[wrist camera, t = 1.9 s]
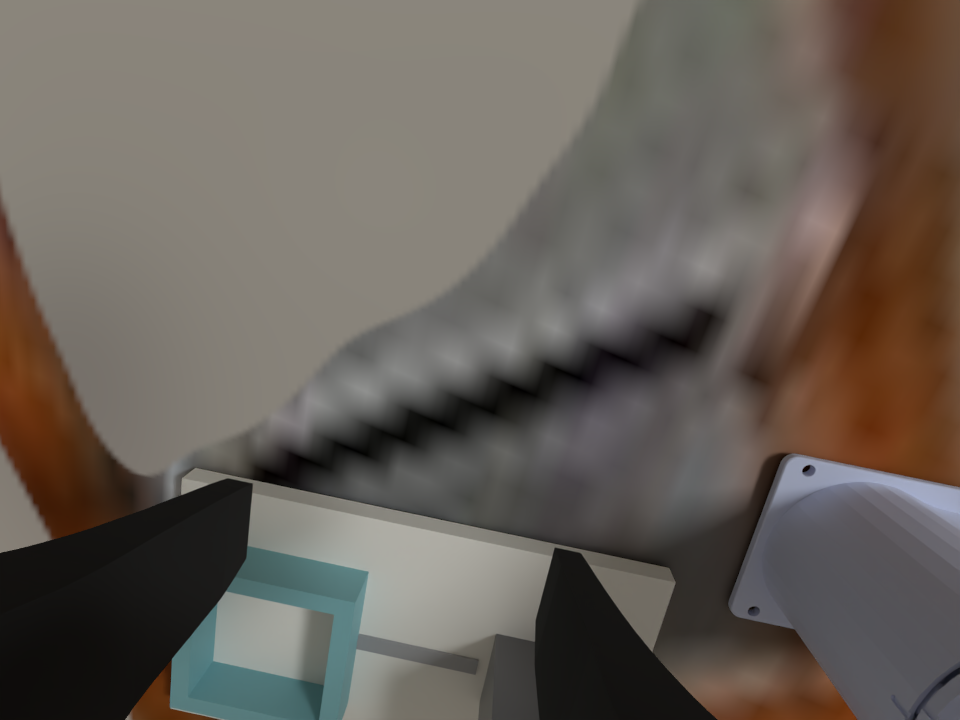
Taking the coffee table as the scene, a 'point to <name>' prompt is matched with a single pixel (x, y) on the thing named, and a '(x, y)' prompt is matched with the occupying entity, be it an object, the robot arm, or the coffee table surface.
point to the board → (374, 611)
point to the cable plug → (510, 681)
